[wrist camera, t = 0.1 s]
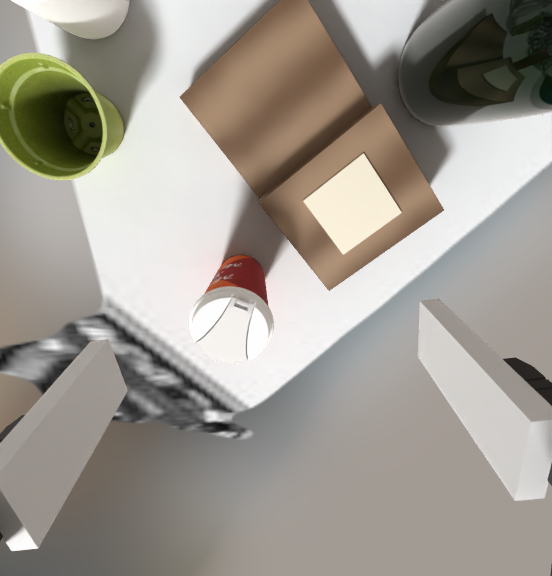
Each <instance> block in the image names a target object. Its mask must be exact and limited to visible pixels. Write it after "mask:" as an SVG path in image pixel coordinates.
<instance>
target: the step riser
mask: <svg viewBox="0 0 552 576" xmlns="http://www.w3.org/2000/svg"><path fill="white" fill-rule="evenodd" d="M180 98H181V100H182V101H183V102H184V103H185V105H186V106H187V107H188V109H189V110H190V111H191V112H192V114H193V115H194V116H195V117H196V119H197V120H198V121H199V122H200V124H201V125H202V126H203V127H204V129H205V130H206V131H207V133H208V134H209V135H210V136H211V138H212V139H213V140H214V141H215V143H216V144H217V145H218V146H219V148H220V149H221V150H222V151H223V153H224V154H225V155H226V157H227V158H228V159H229V160H230V162H231V163H232V164H233V165H234V167H235V168H236V169H237V170H238V172H239V173H240V174H241V175H242V177H243V178H244V179H245V181H246V182H247V183H248V184H249V186H250V187H251V188H252V189H253V191H254V192H255V193H256V194H257V196H258V197H259V198H260V199H259V204H260V205H261V206H262V207H263V209H264V210H265V211H266V212H267V214H268V215H269V216H270V217H271V219H272V220H273V221H274V223H275V224H276V225H277V226H278V228H279V229H280V230H281V231H282V233H283V234H284V235H285V236H286V238H287V239H288V240H289V241H290V243H291V244H292V245H293V246H294V248H295V249H296V250H297V251H298V253H299V254H300V255H301V256H302V258H303V259H304V260H305V261H306V263H307V264H308V265H309V266H310V268H311V269H312V270H313V271H314V273H315V274H316V275H317V276H318V278H319V279H320V280H321V282H322V283H323V284H324V285H325V287H326V288H327V289H328V290H329V291H330V290H331V289H333V288H334V287H335V286H337V285H338V284H340V283H341V282H343V281H344V280H345V279H347V278H348V277H350V276H351V275H353V274H354V273H355V272H357V271H358V270H360V269H361V268H362V267H364V266H365V265H367V264H368V263H370V262H371V261H372V260H374V259H375V258H377V257H378V256H380V255H381V254H382V253H384V252H385V251H387V250H388V249H390V248H391V247H392V246H394V245H395V244H397V243H398V242H400V241H401V240H402V239H404V238H405V237H407V236H408V235H409V234H411V233H412V232H414V231H415V230H417V229H418V228H419V227H421V226H422V225H424V224H425V223H427V222H428V221H429V220H431V219H432V218H434V217H435V216H437V215H438V214H439V213H441V212H442V211H444V209H443V207H442V205H441V204H440V202H439V200H438V199H437V197H436V195H435V194H434V192H433V190H432V189H431V187H430V185H429V184H428V182H427V180H426V178H425V177H424V175H423V173H422V172H421V170H420V168H419V167H418V165H417V163H416V162H415V160H414V158H413V156H412V155H411V153H410V151H409V150H408V148H407V146H406V145H405V143H404V141H403V140H402V138H401V136H400V134H399V133H398V131H397V129H396V128H395V126H394V124H393V123H392V121H391V119H390V118H389V116H388V114H387V112H386V111H385V109H384V107H383V106H382V104H381V103H380V104H378V105H375V106H371V104H370V103H369V101H368V99H367V98H366V96H365V94H364V93H363V91H362V89H361V88H360V86H359V84H358V83H357V81H356V79H355V78H354V76H353V74H352V73H351V71H350V69H349V68H348V66H347V64H346V63H345V61H344V59H343V58H342V56H341V55H340V53H339V51H338V50H337V48H336V46H335V45H334V43H333V41H332V40H331V38H330V36H329V35H328V33H327V31H326V30H325V28H324V26H323V25H322V23H321V21H320V20H319V18H318V16H317V15H316V13H315V11H314V10H313V8H312V6H311V5H310V3H309V1H308V0H279V1H278V2H277V3H276V4H275V5H274V6H273V7H272V8H271V9H270V10H269V11H268V12H267V13H266V14H265V15H264V16H263V17H262V18H261V19H260V20H259V21H258V22H257V23H256V24H255V25H254V26H252V27H251V28H250V29H249V30H248V31H247V32H246V33H245V34H244V35H243V36H242V37H241V38H240V39H239V40H238V41H237V42H236V43H235V44H234V45H233V46H232V47H231V48H230V49H229V50H228V51H227V52H226V53H225V54H224V55H223V56H221V57H220V58H219V59H218V60H217V61H216V62H215V63H214V64H213V65H212V66H211V67H210V68H209V69H208V70H207V71H206V72H205V73H204V74H203V75H202V76H201V77H200V78H199V79H198V80H197V81H196V82H195V83H194V84H193V85H192V86H190V87H189V88H188V89H187V90H186V91H185V92H184V93H183V94H182V95H181V96H180Z"/></svg>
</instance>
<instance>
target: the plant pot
mask: <svg viewBox="0 0 552 576" xmlns="http://www.w3.org/2000/svg"><path fill="white" fill-rule="evenodd" d="M83 98H93V99H94V101H95V102H92V101H84V102H83V101H82V100H83ZM69 118H72V126H73V131H74V132H73V131H72V130H71V129H70V126H69ZM90 123H94V124H95V127H94V128H93V127H91V126H90ZM123 135H124V126H123V121H122V118H121V116H120V114H119V112H118V110H117V109H116V107H115V106H114V105H113V104H112V103H111V102H110V101H109V100H108V99H107V98H105V97H104V96H102V95H101V94H99V93H98V92H96V91H95V90H94V89H93V88H92V86H91V85H90V84H89V82H88V81H87V80H86V79H85V78H84V77H83V76H82V75H81V74H80V73H79V72H78V71H77V70H76V69H74V68H73V67H72V66H70V65H69V64H67V63H66V62H64V61H62V60H60V59H58V58H56V57H53V56H50V55H46V54H41V53H24V54H20V55H16V56H14V57H11V58H10V59H8V60H6V61H5V62H4V63H2V64H1V65H0V143H1V145H2V146H3V147H4V149H5V150H6V152H7V153H8V154H9V155H10V156H11V157H12V158H13V159H14V160H15V161H16V162H17V163H19V164H20V165H21V166H23V167H24V168H26V169H27V170H29V171H31V172H33V173H35V174H37V175H39V176H42V177H45V178H48V179H53V180H70V179H75V178H78V177H81V176H83V175H85V174H87V173H89V172H90V171H91V170H92V169H94V168H95V167H96V166H97V164H98V163H99V162H100V160H101V159H102V158H103V157H105V156H107V155H109V154H111V153H113V152H114V151H115V150H116V149H117V148H118V147H119V145H120V144H121V142H122V139H123ZM92 147H94V148H100V151H93V150H92V149H91V148H92Z"/></svg>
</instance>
